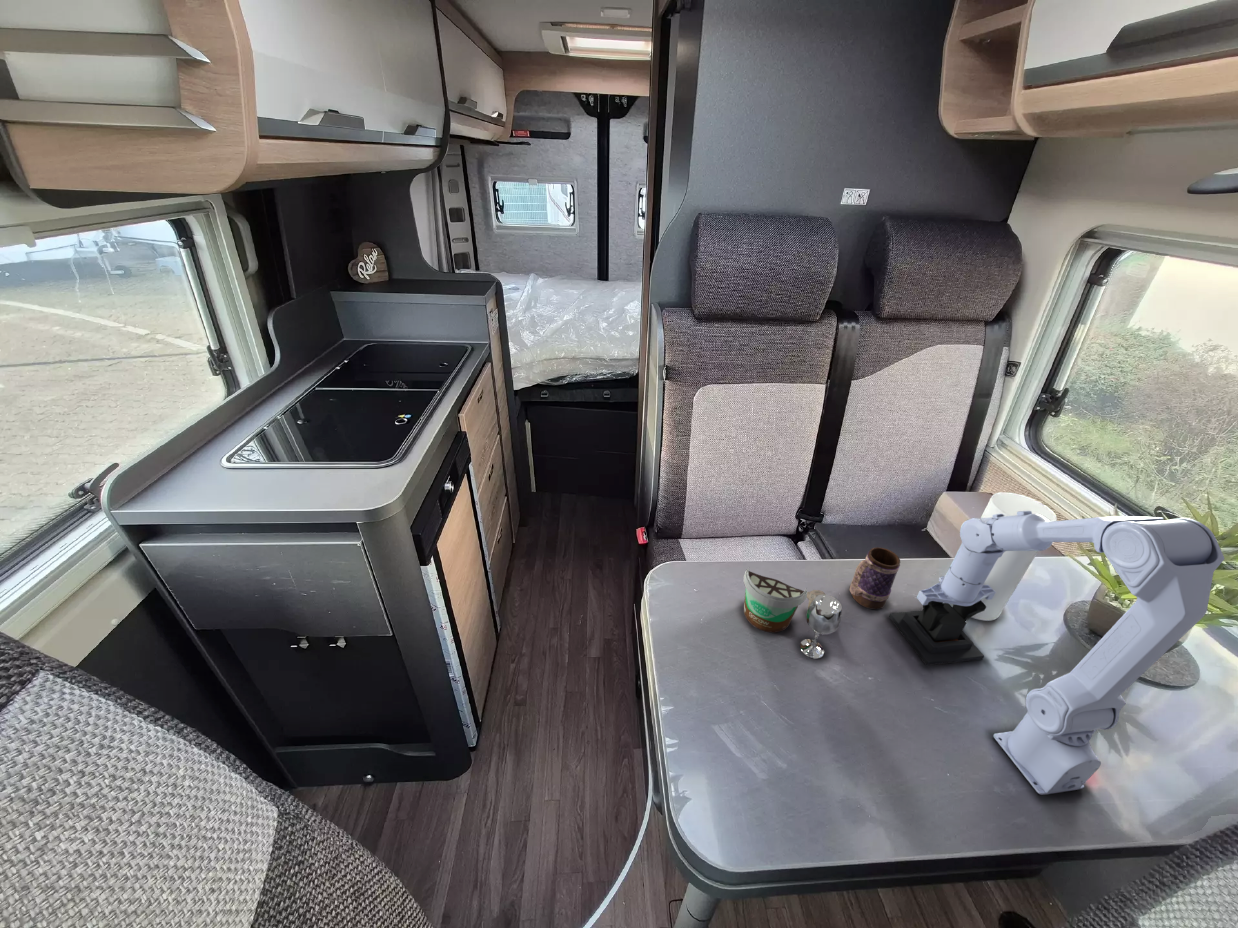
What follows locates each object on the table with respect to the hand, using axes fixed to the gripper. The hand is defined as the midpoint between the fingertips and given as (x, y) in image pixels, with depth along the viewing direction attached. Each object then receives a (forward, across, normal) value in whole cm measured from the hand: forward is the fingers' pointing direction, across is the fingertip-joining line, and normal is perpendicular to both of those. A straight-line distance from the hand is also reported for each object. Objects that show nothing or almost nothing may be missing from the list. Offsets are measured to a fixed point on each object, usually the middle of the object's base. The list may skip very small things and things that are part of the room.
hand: (939, 625), depth 102 cm
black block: (+1, 0, 0) cm, 1 cm away
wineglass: (+3, +26, 0) cm, 26 cm away
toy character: (+3, +21, -8) cm, 23 cm away
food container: (+3, +33, -7) cm, 34 cm away
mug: (+3, +9, -11) cm, 15 cm away
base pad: (+3, 0, 0) cm, 3 cm away
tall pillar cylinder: (+3, -15, -8) cm, 17 cm away
